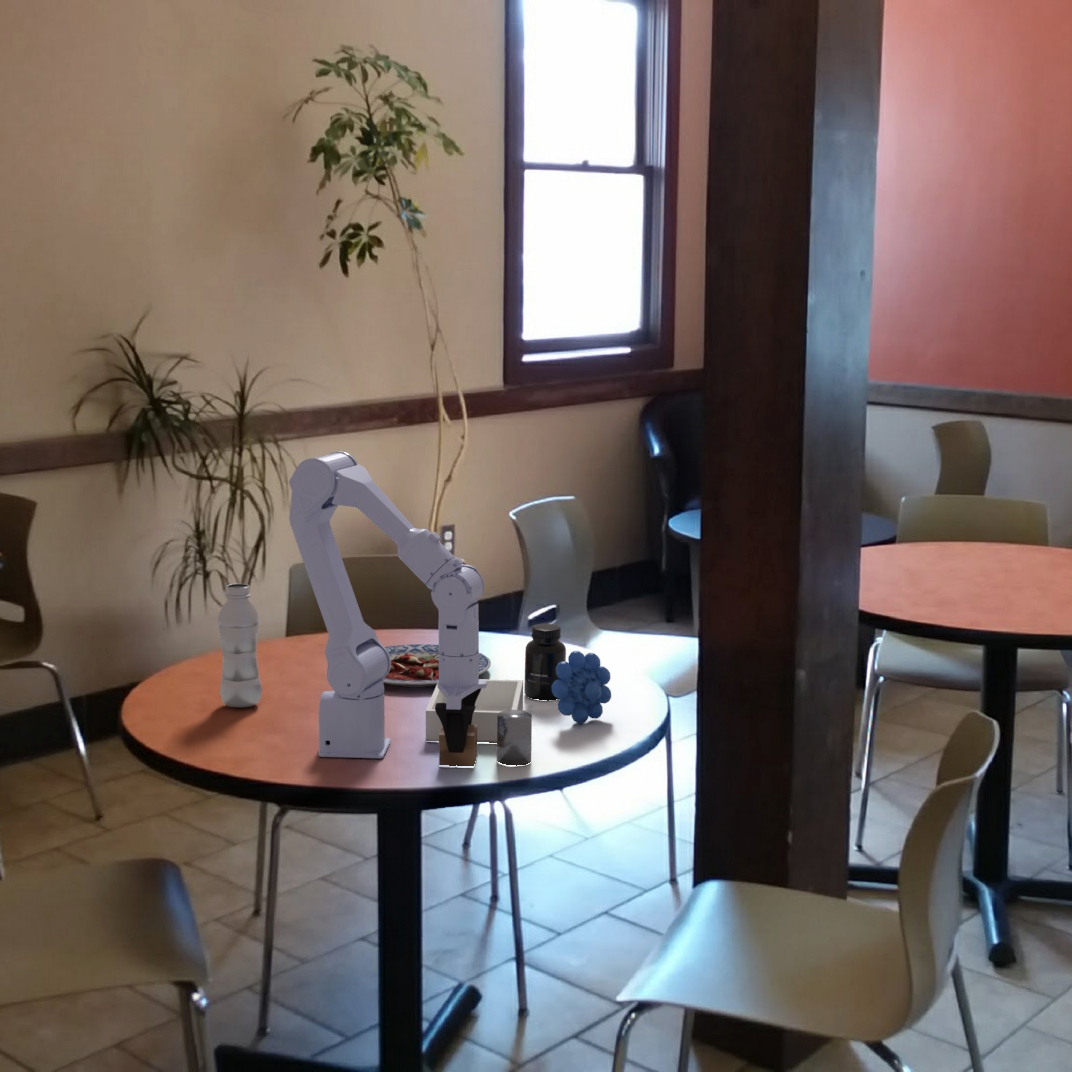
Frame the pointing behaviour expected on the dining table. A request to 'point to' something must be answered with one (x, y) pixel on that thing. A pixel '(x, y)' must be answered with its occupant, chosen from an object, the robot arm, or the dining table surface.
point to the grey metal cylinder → (514, 737)
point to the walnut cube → (459, 758)
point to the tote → (480, 708)
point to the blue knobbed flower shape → (581, 686)
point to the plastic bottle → (239, 648)
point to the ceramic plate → (419, 665)
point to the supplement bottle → (543, 661)
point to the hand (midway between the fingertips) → (459, 743)
